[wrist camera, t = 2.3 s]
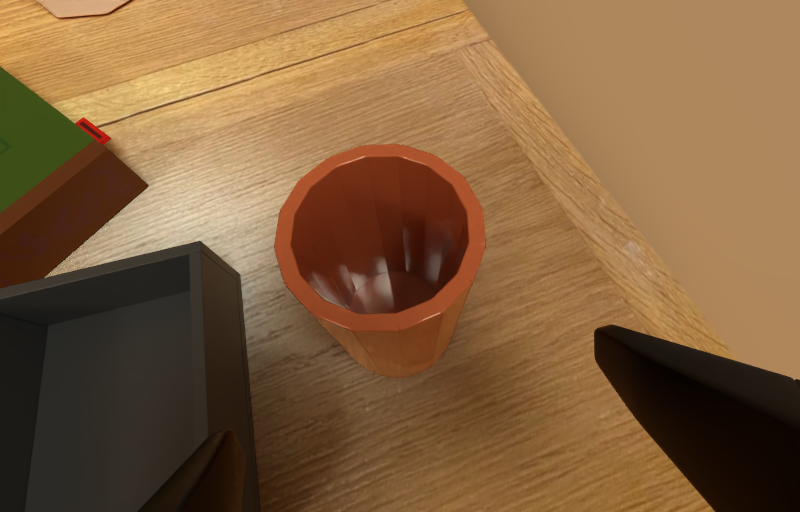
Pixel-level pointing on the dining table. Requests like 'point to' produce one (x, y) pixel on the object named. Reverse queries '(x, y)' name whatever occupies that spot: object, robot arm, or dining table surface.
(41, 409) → the bin
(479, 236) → the tumbler
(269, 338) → the dining table surface
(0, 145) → the hardcover book
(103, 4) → the cup
